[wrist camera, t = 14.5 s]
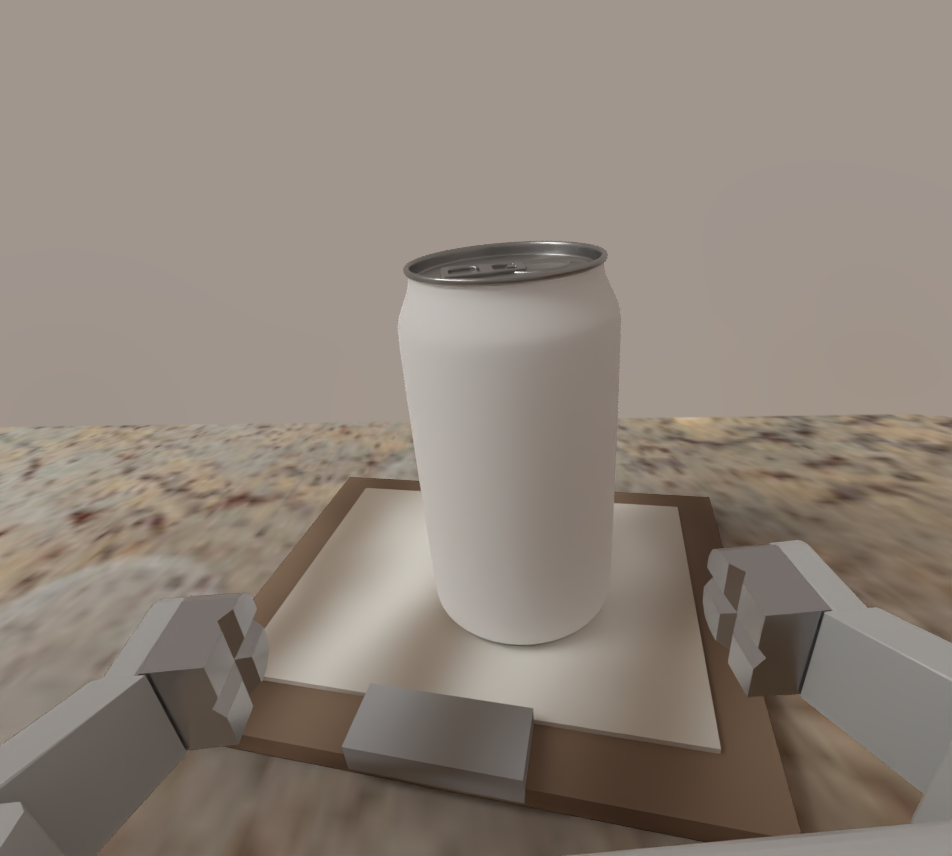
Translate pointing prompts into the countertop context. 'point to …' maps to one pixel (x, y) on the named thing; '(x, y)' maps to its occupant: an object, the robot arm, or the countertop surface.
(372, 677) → the clipboard
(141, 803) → the robot arm
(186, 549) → the countertop surface
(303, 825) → the countertop surface
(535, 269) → the can
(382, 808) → the countertop surface
